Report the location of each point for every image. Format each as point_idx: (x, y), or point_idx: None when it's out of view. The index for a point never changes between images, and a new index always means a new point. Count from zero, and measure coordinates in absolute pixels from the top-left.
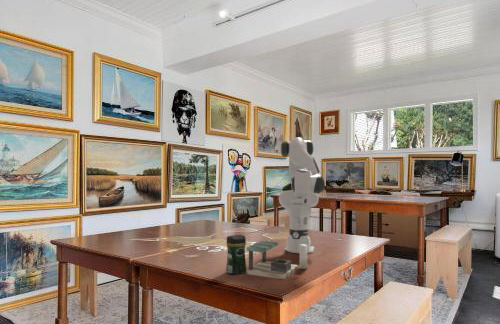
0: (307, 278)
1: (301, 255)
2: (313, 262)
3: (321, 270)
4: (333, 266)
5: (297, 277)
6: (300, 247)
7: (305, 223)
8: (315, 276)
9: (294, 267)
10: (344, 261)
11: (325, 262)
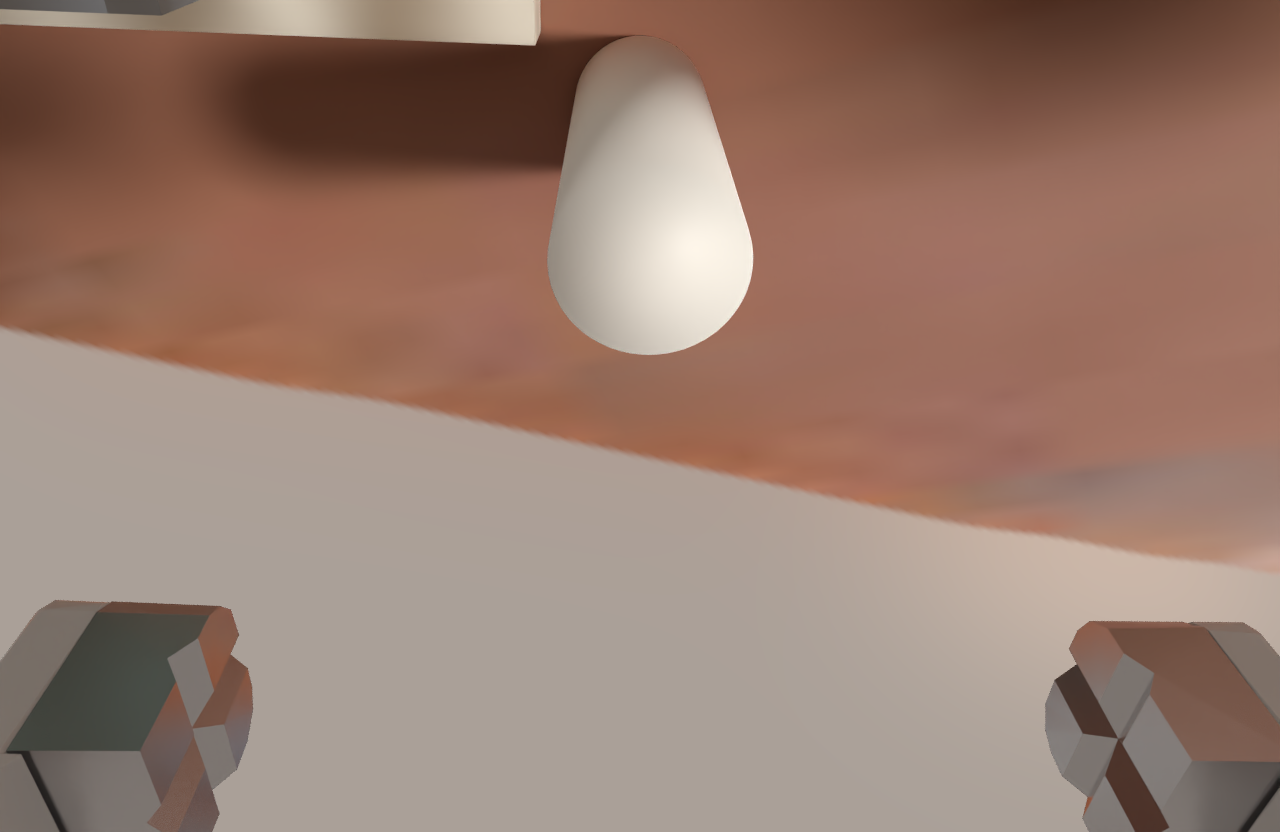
0: (151, 291)
1: (564, 158)
2: (1065, 178)
3: (629, 374)
4: (894, 469)
5: (91, 153)
6: (564, 191)
7: (1094, 744)
8: (307, 361)
9: (345, 27)
10: (1196, 542)
11: (1099, 345)
